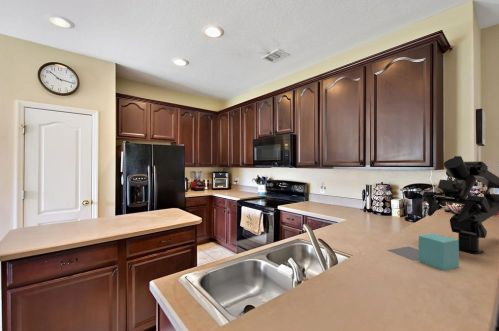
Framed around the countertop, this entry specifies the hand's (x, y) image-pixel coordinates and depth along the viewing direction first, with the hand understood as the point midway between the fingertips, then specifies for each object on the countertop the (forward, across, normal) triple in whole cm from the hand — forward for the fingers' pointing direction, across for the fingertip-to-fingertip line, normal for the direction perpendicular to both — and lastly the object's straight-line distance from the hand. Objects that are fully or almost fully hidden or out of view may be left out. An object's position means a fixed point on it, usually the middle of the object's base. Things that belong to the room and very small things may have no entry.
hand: (442, 218), depth 82 cm
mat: (+16, -5, +3) cm, 17 cm away
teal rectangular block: (+17, +4, +2) cm, 18 cm away
